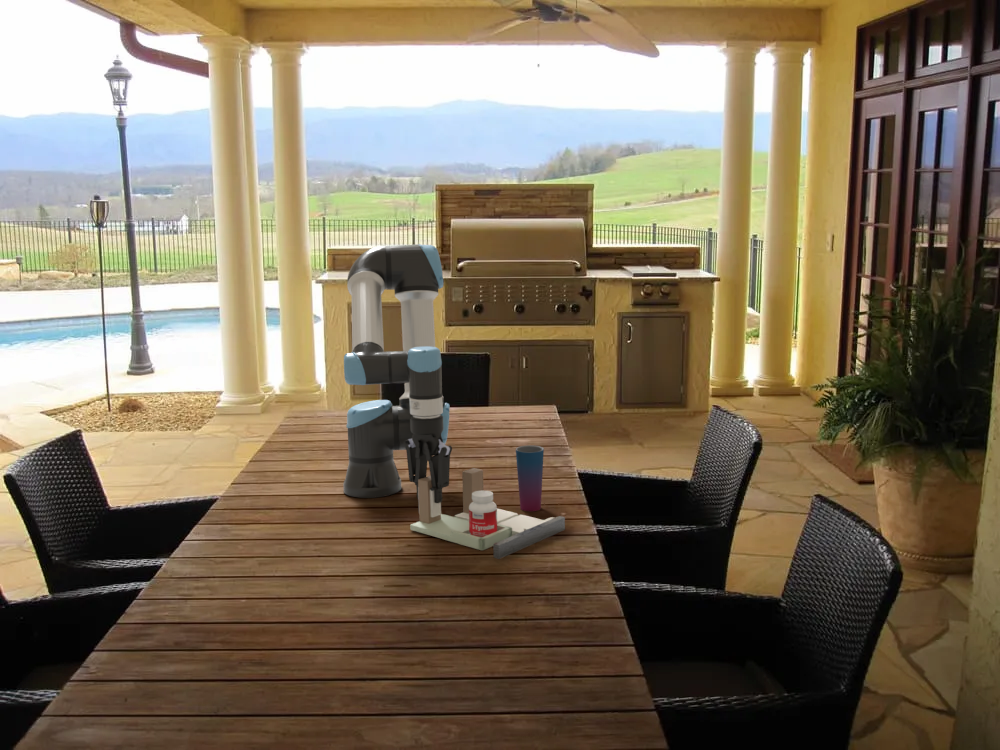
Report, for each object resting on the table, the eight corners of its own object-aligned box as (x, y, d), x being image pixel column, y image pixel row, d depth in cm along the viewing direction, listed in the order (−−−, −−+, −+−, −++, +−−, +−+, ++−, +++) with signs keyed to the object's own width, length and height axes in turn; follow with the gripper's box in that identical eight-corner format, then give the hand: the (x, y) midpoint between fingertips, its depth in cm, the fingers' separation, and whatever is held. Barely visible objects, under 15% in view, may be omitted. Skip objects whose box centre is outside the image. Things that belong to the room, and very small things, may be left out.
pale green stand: (410, 529, 217) (408, 482, 215) (440, 518, 224) (439, 472, 222) (482, 550, 203) (480, 500, 201) (512, 537, 210) (511, 489, 208)
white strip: (493, 530, 215) (493, 520, 215) (521, 519, 222) (521, 509, 222) (527, 539, 209) (527, 529, 208) (555, 527, 216) (554, 517, 216)
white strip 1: (454, 520, 223) (453, 474, 221) (483, 509, 230) (481, 465, 228) (490, 529, 216) (488, 482, 214) (517, 518, 223) (517, 472, 221)
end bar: (493, 557, 199) (493, 543, 199) (559, 528, 216) (559, 515, 216) (499, 559, 198) (498, 545, 198) (564, 529, 215) (564, 517, 215)
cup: (542, 513, 227) (541, 452, 225) (514, 512, 229) (513, 451, 226) (546, 504, 234) (545, 445, 231) (519, 503, 235) (518, 444, 233)
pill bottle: (469, 546, 206) (468, 497, 204) (469, 537, 212) (468, 489, 210) (497, 545, 206) (496, 497, 204) (497, 536, 212) (496, 488, 210)
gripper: (389, 413, 217) (394, 511, 221) (440, 422, 207) (444, 525, 211) (413, 408, 223) (416, 503, 227) (463, 416, 213) (466, 516, 217)
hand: (430, 513), depth 219 cm, fingers closed on pale green stand, 3 cm apart
